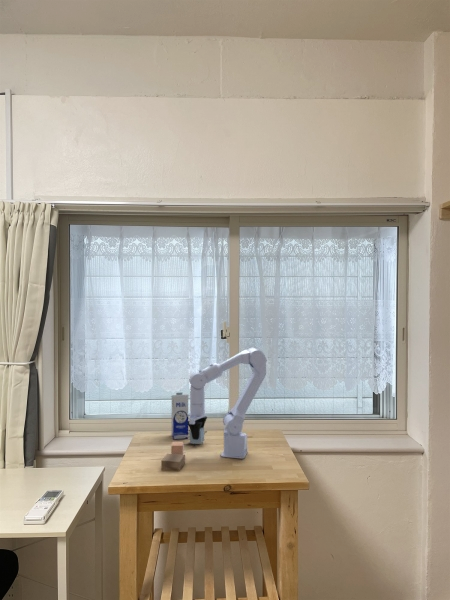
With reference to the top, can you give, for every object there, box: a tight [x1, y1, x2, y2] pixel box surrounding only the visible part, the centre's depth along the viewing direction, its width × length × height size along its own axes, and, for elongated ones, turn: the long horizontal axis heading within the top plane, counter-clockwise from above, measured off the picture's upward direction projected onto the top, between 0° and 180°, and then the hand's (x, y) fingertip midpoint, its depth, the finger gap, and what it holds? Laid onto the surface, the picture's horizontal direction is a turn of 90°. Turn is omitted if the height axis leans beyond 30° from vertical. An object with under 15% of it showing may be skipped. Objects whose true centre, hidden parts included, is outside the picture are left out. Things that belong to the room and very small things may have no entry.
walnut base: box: [160, 453, 186, 472], centre depth 161 cm, size 7×7×4 cm
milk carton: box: [170, 392, 190, 440], centre depth 195 cm, size 7×7×20 cm
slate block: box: [189, 427, 205, 445], centre depth 171 cm, size 4×4×5 cm
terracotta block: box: [170, 441, 185, 455], centre depth 172 cm, size 4×4×5 cm
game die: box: [185, 429, 208, 447], centre depth 185 cm, size 9×8×10 cm
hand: (197, 437), depth 171 cm, fingers closed on slate block, 4 cm apart
